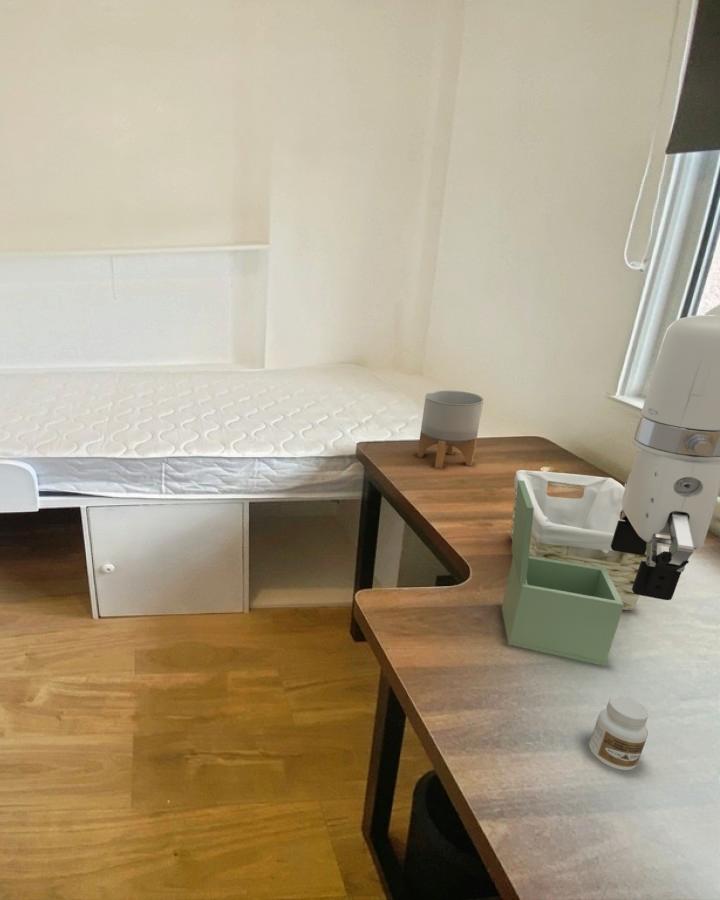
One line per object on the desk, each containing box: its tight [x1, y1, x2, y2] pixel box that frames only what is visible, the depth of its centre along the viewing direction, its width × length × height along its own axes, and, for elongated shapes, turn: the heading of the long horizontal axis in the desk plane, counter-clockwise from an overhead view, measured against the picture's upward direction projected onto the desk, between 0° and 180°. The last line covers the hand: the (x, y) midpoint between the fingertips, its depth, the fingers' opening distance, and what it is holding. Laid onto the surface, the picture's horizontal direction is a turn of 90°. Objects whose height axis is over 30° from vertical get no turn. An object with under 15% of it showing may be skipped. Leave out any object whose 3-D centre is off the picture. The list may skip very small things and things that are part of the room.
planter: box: [416, 390, 484, 470], centre depth 146 cm, size 13×13×18 cm
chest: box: [501, 556, 624, 667], centre depth 84 cm, size 12×10×11 cm
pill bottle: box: [588, 695, 649, 771], centre depth 65 cm, size 4×4×8 cm
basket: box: [510, 469, 663, 611], centre depth 98 cm, size 24×16×15 cm
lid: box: [511, 480, 534, 584], centre depth 83 cm, size 12×10×1 cm
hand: (638, 572), depth 65 cm, fingers open, 9 cm apart
